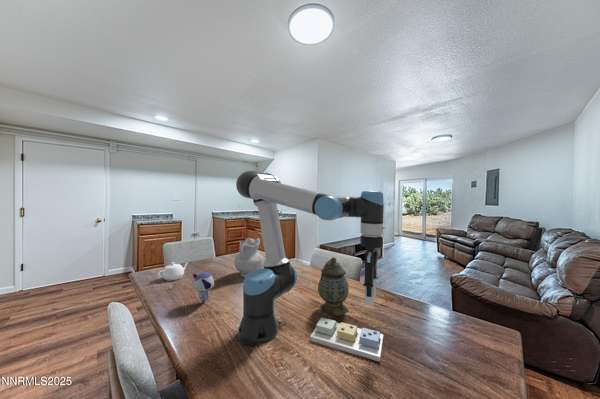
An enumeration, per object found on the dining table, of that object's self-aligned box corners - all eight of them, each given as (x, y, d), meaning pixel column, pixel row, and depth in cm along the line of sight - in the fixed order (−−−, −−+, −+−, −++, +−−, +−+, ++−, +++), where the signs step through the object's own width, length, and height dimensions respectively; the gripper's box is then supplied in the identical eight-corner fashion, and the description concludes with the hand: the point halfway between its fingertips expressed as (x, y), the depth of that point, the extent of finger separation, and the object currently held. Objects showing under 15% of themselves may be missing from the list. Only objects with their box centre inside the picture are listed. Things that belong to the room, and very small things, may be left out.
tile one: (316, 331, 84) (316, 324, 84) (321, 323, 89) (321, 316, 89) (331, 335, 81) (331, 328, 81) (336, 327, 87) (336, 320, 87)
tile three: (359, 343, 77) (359, 336, 77) (362, 334, 83) (362, 327, 83) (377, 348, 75) (378, 340, 75) (379, 338, 80) (379, 331, 80)
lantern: (346, 321, 96) (347, 263, 96) (314, 315, 101) (315, 259, 100) (350, 306, 109) (351, 255, 109) (322, 301, 114) (323, 252, 114)
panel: (309, 343, 81) (310, 336, 81) (321, 324, 93) (321, 318, 93) (379, 364, 71) (380, 356, 71) (383, 341, 83) (383, 334, 83)
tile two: (336, 337, 81) (337, 330, 81) (341, 328, 86) (341, 321, 86) (353, 342, 78) (353, 334, 78) (356, 332, 84) (357, 325, 83)
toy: (218, 303, 111) (218, 272, 111) (198, 310, 104) (198, 277, 103) (208, 296, 118) (208, 267, 118) (189, 302, 111) (189, 272, 111)
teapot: (182, 271, 155) (182, 257, 155) (194, 275, 149) (194, 260, 149) (152, 281, 138) (152, 264, 138) (163, 285, 132) (163, 268, 132)
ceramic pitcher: (258, 283, 140) (262, 243, 140) (227, 280, 140) (231, 240, 140) (264, 271, 162) (267, 237, 162) (237, 269, 162) (241, 234, 162)
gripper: (380, 240, 68) (379, 316, 68) (385, 232, 86) (384, 292, 86) (355, 238, 71) (354, 310, 71) (364, 230, 89) (363, 288, 89)
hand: (370, 300), depth 79 cm, fingers open, 6 cm apart
